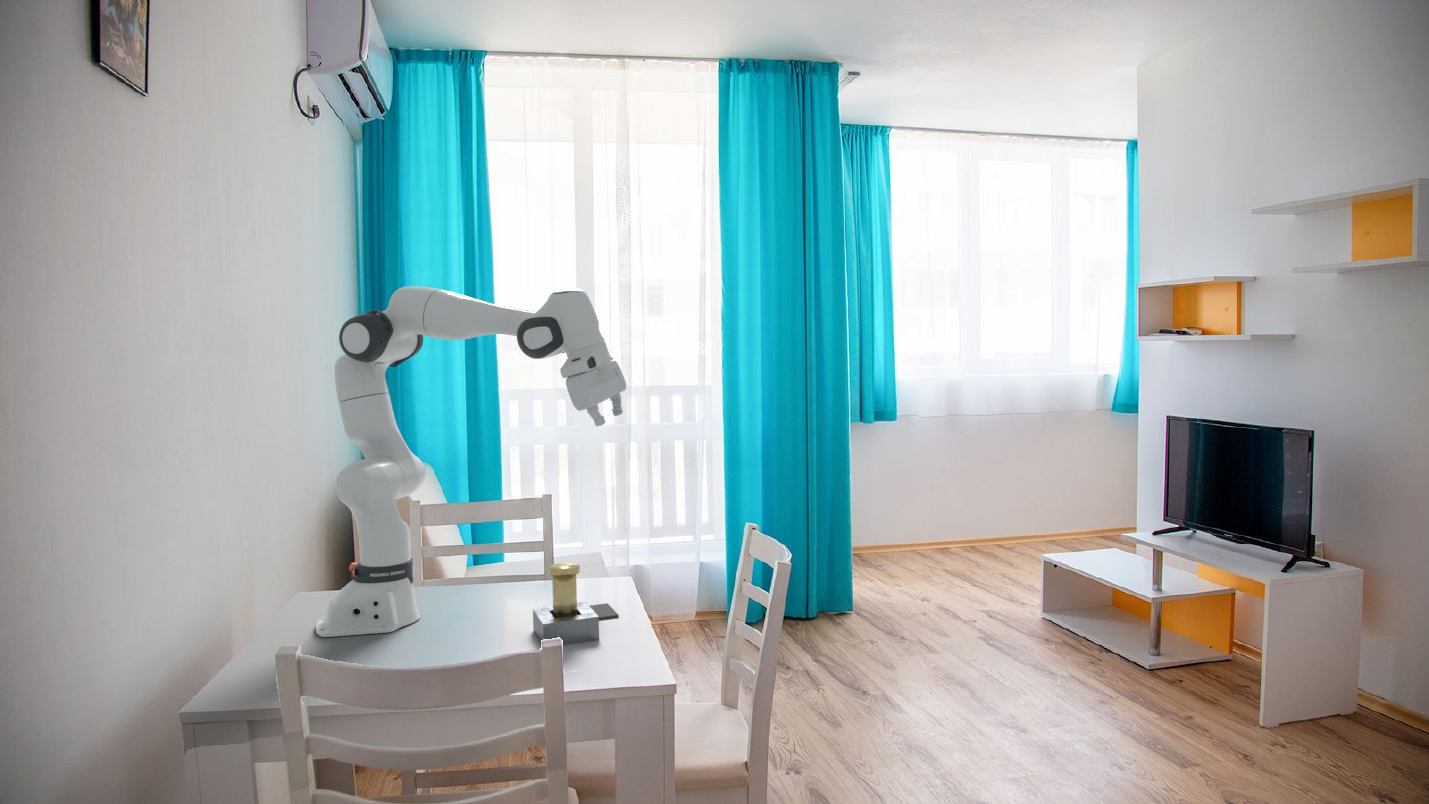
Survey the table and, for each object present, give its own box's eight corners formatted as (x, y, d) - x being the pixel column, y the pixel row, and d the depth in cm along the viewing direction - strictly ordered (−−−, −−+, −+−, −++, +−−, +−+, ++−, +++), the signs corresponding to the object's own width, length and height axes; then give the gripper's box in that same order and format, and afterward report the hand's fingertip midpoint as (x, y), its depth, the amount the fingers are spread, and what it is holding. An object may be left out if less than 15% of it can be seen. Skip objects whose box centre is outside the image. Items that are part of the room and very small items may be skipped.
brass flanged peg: (553, 632, 181) (551, 572, 180) (547, 623, 188) (545, 565, 187) (584, 628, 184) (582, 568, 183) (577, 619, 190) (575, 561, 189)
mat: (576, 623, 194) (576, 620, 194) (567, 610, 203) (566, 608, 203) (618, 617, 198) (618, 614, 197) (607, 605, 207) (607, 603, 207)
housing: (543, 647, 178) (543, 624, 178) (533, 630, 189) (532, 608, 189) (599, 639, 182) (598, 616, 182) (586, 623, 194) (585, 601, 193)
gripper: (598, 356, 195) (617, 412, 196) (555, 372, 176) (577, 434, 177) (621, 348, 192) (640, 406, 194) (581, 364, 173) (602, 427, 175)
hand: (610, 419), depth 186 cm, fingers open, 8 cm apart
